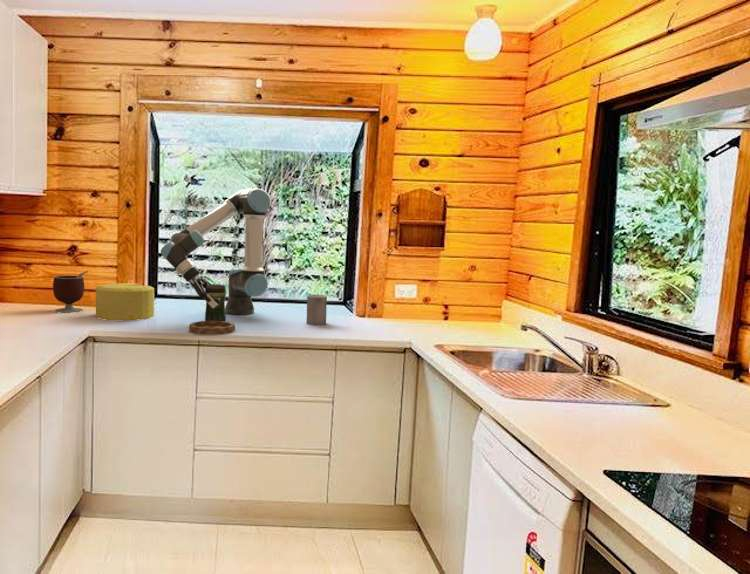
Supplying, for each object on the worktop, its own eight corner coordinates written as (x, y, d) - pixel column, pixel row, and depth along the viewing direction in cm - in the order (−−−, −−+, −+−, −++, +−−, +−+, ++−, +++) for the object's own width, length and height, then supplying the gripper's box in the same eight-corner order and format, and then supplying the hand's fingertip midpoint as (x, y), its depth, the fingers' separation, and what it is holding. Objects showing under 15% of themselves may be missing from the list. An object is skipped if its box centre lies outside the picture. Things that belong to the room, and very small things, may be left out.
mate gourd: (53, 313, 288) (53, 272, 286) (52, 309, 300) (52, 269, 298) (89, 312, 296) (89, 272, 294) (86, 308, 308) (86, 269, 306)
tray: (228, 325, 278) (228, 320, 277) (239, 333, 261) (239, 327, 261) (185, 327, 269) (185, 321, 268) (194, 335, 252) (194, 329, 252)
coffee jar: (226, 322, 285) (227, 283, 283) (224, 325, 278) (225, 285, 276) (205, 322, 284) (206, 283, 282) (203, 325, 276) (203, 285, 274)
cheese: (161, 313, 303) (161, 284, 302) (143, 322, 277) (143, 290, 276) (109, 311, 302) (109, 281, 301) (85, 319, 276) (85, 287, 275)
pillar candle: (311, 320, 301) (312, 291, 299) (329, 322, 297) (330, 292, 296) (302, 324, 292) (303, 293, 290) (321, 325, 288) (321, 295, 287)
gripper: (191, 274, 291) (221, 306, 292) (172, 278, 266) (205, 313, 268) (202, 263, 290) (232, 295, 292) (184, 267, 266) (217, 302, 267)
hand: (219, 304), depth 280 cm, fingers open, 13 cm apart
